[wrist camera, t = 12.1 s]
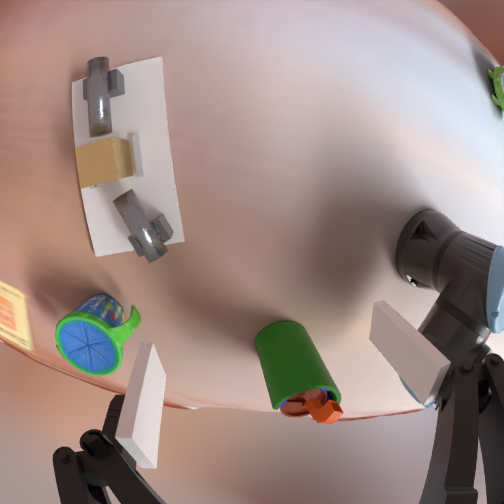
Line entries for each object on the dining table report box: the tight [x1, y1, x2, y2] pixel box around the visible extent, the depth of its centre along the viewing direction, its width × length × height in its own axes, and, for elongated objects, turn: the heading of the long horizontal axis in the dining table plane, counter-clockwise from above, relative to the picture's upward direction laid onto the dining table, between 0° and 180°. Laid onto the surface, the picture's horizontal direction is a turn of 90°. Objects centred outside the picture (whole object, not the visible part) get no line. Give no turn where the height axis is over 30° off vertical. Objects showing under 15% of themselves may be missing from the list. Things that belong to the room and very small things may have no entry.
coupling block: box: [75, 137, 133, 189], centre depth 29 cm, size 5×5×7 cm
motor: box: [255, 321, 343, 424], centre depth 38 cm, size 10×9×20 cm
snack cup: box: [55, 294, 141, 376], centre depth 36 cm, size 16×10×10 cm
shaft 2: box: [112, 189, 174, 263], centre depth 33 cm, size 9×5×6 cm, turn 26°
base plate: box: [72, 56, 185, 257], centre depth 33 cm, size 14×27×2 cm, turn 6°
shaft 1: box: [83, 57, 125, 138], centre depth 27 cm, size 10×5×6 cm, turn 6°
